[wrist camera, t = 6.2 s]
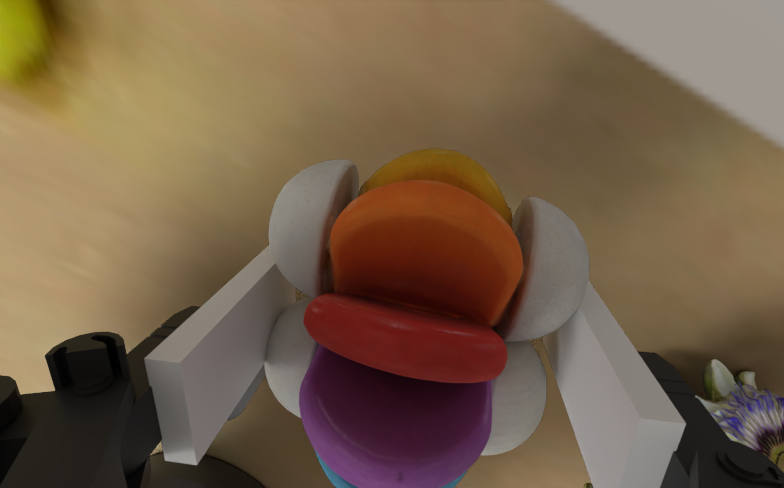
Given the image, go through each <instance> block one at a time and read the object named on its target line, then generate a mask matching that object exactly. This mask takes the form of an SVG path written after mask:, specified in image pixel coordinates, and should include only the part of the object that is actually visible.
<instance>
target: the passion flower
mask: <svg viewBox="0 0 784 488" xmlns="http://www.w3.org/2000/svg"><path fill="white" fill-rule="evenodd" d="M754 377H755V373H754V372H751V371H745V372H741V373H739V374H738V375H737V376H736V377H735V378H734V376H733V375H732V374H731V373H730V372H729V370H728V369H727V368H726V367H725V366H724V365H723V364H722V362H720V361H718V360H717V359H711V361H709V362H708V363H707V364H706V365H705V366H704V368H703V371H702V380H703V386H704V390H705V394H706V397H707V399H708V400H704V399H702V398H701V397H700V396H697V395H695V397H696V398H699V400H700V401H701V402H702V404H703V405H704V406H705V407H706V409H707V410H708V411H709V413H710V414H711V415H712V417H713V418H714V419H715V420H716V422H717V423H718V424H719V426H720V427H721V428H722V430H723V431H724V432H725V433H726V435H727V436H728V437H729V439H730V440H732V441H735V442H739V443H741V444H743V445H746V446H748V447H750V448H752V449H754V450H756V451H758V452H759V453H761V454H762V455H764V456H765V457H767V458H768V459H770V460H771V461H773V462H774V463H775V464H776V465H777V466H778V467H779V468H780V469H781V470H782V471H783V472H784V398H782V397H780V396H779V395H777V394H774V393H772V392H771V391H770V390H767V389H764V390H758V388H757V385H756V383H755V380H754ZM583 488H593V486H592V484H590V483H586V484H584V487H583Z"/></svg>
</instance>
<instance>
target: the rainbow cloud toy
mask: <svg viewBox="0 0 784 488" xmlns="http://www.w3.org/2000/svg"><path fill="white" fill-rule="evenodd" d="M269 245H270V250H271V253H272V256H273V258H274V260H275V263H276V265H277V267H278V268H279V270H280V271H281V273H282V275H283V276H284V277H285V278H286V279H287V280H288V281H289V282H290V283H291V284H292V285H293V286H294V287H295V288H297V289H298V290H299V291H301V292H303V293H304V294H306V295H308V296H307V297H304V298H302V299H300V300H299V301H297V302H295V303H294V304H292V305H291V306H290V307H289V308H288V309H286V310H285V311H284V312H283V313H282V315H281V316H280V317H279V318H278V320H277V321H276V323H275V325H274V327H273V329H272V332H271V334H270V338H269V341H268V346H267V352H266V361H265V363H264V366H265V373H266V378H267V381H268V383H269V386H270V388H271V390H272V392H273V394H274V395H275V397H276V398H277V400H278V401H279V402H280V403H281V404H282V405H283V406H284V407H285V408H286V409H287V410H288V411H290V412H291V413H293V414H294V415H296V416H298V417H299V418H301V419H302V422H303V426H304V429H305V431H306V434H307V436H308V438H309V440H310V442H311V444H312V446H313V447H314V450H315V453H316V455H317V458H318V460H319V462H320V464H321V467H322V469H323V470H324V472H325V474H326V475H327V477H328V478H329V480H330V481H331V483H332V484H333V485H334V486H335V487H336V488H454V487H455V486H456V485H457V483H458V482H459V481H460V480H461V479H462V477H463V476H464V474H465V473H466V471H467V470H468V468H470V467H471V466H472V465H473V464H474V462H475V461H476V460H477V459H478V458H479V456H480V455H496V454H500V453H504V452H507V451H510V450H512V449H514V448H516V447H518V446H519V445H521V444H522V443H523V442H525V441H526V440H527V439H528V438H529V437H530V436H531V435H532V433H533V432H534V431H535V430H536V428H537V427H538V425H539V423H540V421H541V419H542V416H543V412H544V408H545V402H546V392H547V385H546V373H545V369H544V366H543V363H542V361H541V359H540V357H539V355H538V353H537V351H536V350H535V349H534V347H533V346H532V344H531V343H530V342H529V341H528V340H532V339H536V338H539V337H542V336H545V335H547V334H549V333H551V332H553V331H555V330H556V329H558V328H559V327H561V326H562V325H563V324H564V323H565V322H567V321H568V320H569V319H570V318H571V317H572V316H573V314H574V313H575V312H576V310H577V309H578V308H579V306H580V304H581V302H582V300H583V297H584V295H585V291H586V288H587V284H588V279H589V267H590V265H589V254H588V250H587V246H586V243H585V241H584V238H583V236H582V235H581V233H580V231H579V229H578V228H577V226H576V225H575V223H574V222H573V221H572V220H571V219H570V218H569V217H568V216H567V215H566V214H565V213H564V212H563V211H562V210H560V209H559V208H557V207H556V206H554V205H553V204H551V203H549V202H547V201H545V200H543V199H540V198H538V197H527V198H526V199H524V200H523V201H522V202H521V204H520V205H519V207H518V209H517V211H516V213H515V215H514V217H513V219H512V213H511V210H510V208H509V207H508V206H507V204H506V201H505V199H504V196H503V195H502V193H501V191H500V189H499V187H498V185H497V184H496V182H495V181H494V179H493V178H492V177H491V175H490V174H489V173H488V172H487V171H486V170H485V169H484V168H483V167H482V166H481V165H479V164H478V163H477V162H476V161H474V160H473V159H471V158H469V157H468V156H466V155H464V154H461V153H459V152H456V151H450V150H444V149H424V150H418V151H414V152H411V153H408V154H405V155H402V156H400V157H398V158H396V159H394V160H393V161H391V162H389V163H388V164H386V165H385V166H383V167H382V168H380V169H379V170H378V171H377V172H376V173H375V174H374V175H373V176H372V177H371V178H370V179H369V180H368V181H366V182H365V183H364V184H363V186H362V187H361V189H360V191H359V175H358V170H357V167H356V165H355V164H354V163H353V162H352V161H350V160H346V159H339V160H328V161H323V162H320V163H317V164H314V165H312V166H309V167H307V168H305V169H304V170H302V171H301V172H299V173H298V174H296V175H295V176H294V177H293V178H291V179H290V180H289V181H288V182H287V183H286V184H285V185H284V187H283V188H282V190H281V192H280V193H279V195H278V197H277V199H276V201H275V204H274V207H273V210H272V214H271V217H270V223H269Z"/></svg>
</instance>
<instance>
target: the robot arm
mask: <svg viewBox="0 0 784 488" xmlns="http://www.w3.org/2000/svg"><path fill="white" fill-rule="evenodd" d="M295 302H296V293H295V287H294V286H293V285H292V284H291V283H290V282H289V281H288V280H287V279H286V278H285V277H284V276H283V275H282V273H281V271H280V270H279V268H278V267H277V265H276V263H275V260H274V258H273V256H272V253H271V250H270V245H268V246H267V247H266V248H265V249H264V250H263V251H262V252H261V253H260V254H258V255H257V256H256V257H255V258H254V259H253V260H252V261H251V262H250V263H249V264H248V265H246V266H245V267H244V268H243V269H242V270H241V271H240V272H239V273H238V274H237V275H235V276H234V277H233V278H232V279H231V280H230V281H229V282H228V283H227V284H226V285H224V286H223V287H222V288H221V289H220V290H219V291H218V292H217V293H216V294H215V295H213V296H212V297H211V298H210V299H209V300H208V301H207V302H206V303H205V304H204V305H202V306H201V307H196V306H191V307H189V308H187V309H185V310H182V311H180V312H178V313H176V314H174V315H173V316H172V317H170V318H169V319H168V320H167V321H166V322H165V323H163V324H162V325H161V328H157V329H156V330H155V331H154V332H153V333H152V334H151V336H150V337H147V338H146V339H145V340H143V341H142V342H141V343H140V344H139V345H137V346H136V347H135V348H134V349H133V350H132V351H130V352H129V353H128V354H126V349H125V345H124V340H123V338H122V337H121V336H120V335H118V334H115V333H111V332H94V333H89V334H84V335H79V336H77V337H74V338H71V339H68V340H66V341H64V342H62V343H60V344H59V345H57V346H55V347H53V348H52V349H51V350H50V351H49V352H48V353H47V354H46V355H45V358H46V361H47V364H48V367H49V371H50V374H51V377H52V381H53V384H54V387H55V391H51V392H41V393H32V394H22V395H20V393H19V390H18V387H17V384H16V381H15V380H13V379H12V378H11V377H9V376H1V375H0V488H263V487H262V486H261V485H260V484H258V483H257V482H256V481H255V480H253V479H252V478H251V477H249V476H248V475H246V474H245V473H243V472H242V471H240V470H238V469H236V468H235V467H233V466H231V465H228V464H226V463H224V462H222V461H219V460H216V459H213V458H210V457H207V456H204V454H205V453H206V451H207V449H208V448H209V446H210V445H211V443H212V442H213V440H214V439H215V437H216V436H217V434H218V433H219V431H220V430H221V428H222V427H223V425H224V424H225V422H226V421H227V419H228V418H229V416H230V415H231V413H232V412H233V410H234V408H235V407H236V405H237V404H238V402H239V401H240V399H241V398H242V396H243V395H244V393H245V392H246V390H247V389H248V387H249V386H250V384H251V383H252V381H253V380H254V378H255V377H256V375H257V374H258V372H259V371H260V369H261V367H262V366H263V364H264V363H265V361H266V352H267V346H268V341H269V338H270V334H271V332H272V329H273V327H274V325H275V323H276V321H277V320H278V318H279V317H280V316H281V315H282V313H283V312H284V311H285V310H286V309H288V308H289V307H290V306H291V305H292V304H294V303H295ZM542 341H543V344H544V346H545V349H546V352H547V355H548V358H549V361H550V364H551V367H552V370H553V372H554V375H555V378H556V381H557V384H558V387H559V390H560V393H561V396H562V398H563V401H564V404H565V407H566V410H567V413H568V416H569V419H570V422H571V425H572V427H573V430H574V433H575V436H576V439H577V442H578V445H579V448H580V451H581V453H582V456H583V459H584V462H585V465H586V468H587V471H588V474H589V477H590V480H591V482H592V485H593V488H784V472H783V471H782V470H781V469H780V468H779V467H778V466H777V465H776V464H775V463H774V462H773V461H771V460H770V459H768V458H767V457H765V456H764V455H762V454H761V453H759V452H758V451H756V450H754V449H752V448H750V447H748V446H746V445H743V444H741V443H739V442H735V441H732V440H730V439H729V437H728V436H727V435H726V433H725V432H724V431H723V430H722V428H721V427H720V426H719V424H718V423H717V422H716V420H715V419H714V418H713V417H712V415H711V414H710V413H709V411H708V410H707V409H706V407H705V406H704V405H703V404H702V402H701V401H700V400H699V398H696V397H695V393H694V392H693V391H692V389H691V388H690V387H689V385H686V382H685V380H684V379H683V378H682V376H681V375H680V374H679V372H678V371H677V370H676V369H675V367H674V366H672V365H671V364H670V363H668V362H667V361H665V360H664V359H663V358H661V357H660V356H659V355H657V354H656V353H649V352H639V351H636V349H635V348H634V346H633V345H632V343H631V342H630V340H629V339H628V337H627V336H626V334H625V333H624V331H623V330H622V328H621V327H620V325H619V324H618V323H617V321H616V320H615V318H614V317H613V315H612V314H611V312H610V311H609V309H608V308H607V306H606V305H605V303H604V302H603V300H602V299H601V298H600V296H599V295H598V293H597V292H596V290H595V289H594V287H593V286H592V284H591V283H590V281H589V280H588V284H587V288H586V291H585V295H584V297H583V300H582V302H581V304H580V306H579V308H578V309H577V310H576V312H575V313H574V314H573V316H572V317H571V318H570V319H569V320H568V321H567V322H565V323H564V324H563V325H562V326H561V327H559V328H558V329H556V330H555V331H553V332H551V333H549V334H547V335H545V336H543V338H542ZM160 441H161V444H162V449H163V454H158V455H154V456H151V457H149V455H150V454H151V453H152V451H153V450H154V449H155V448H156V446H157V445H158V444H159V443H160Z"/></svg>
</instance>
